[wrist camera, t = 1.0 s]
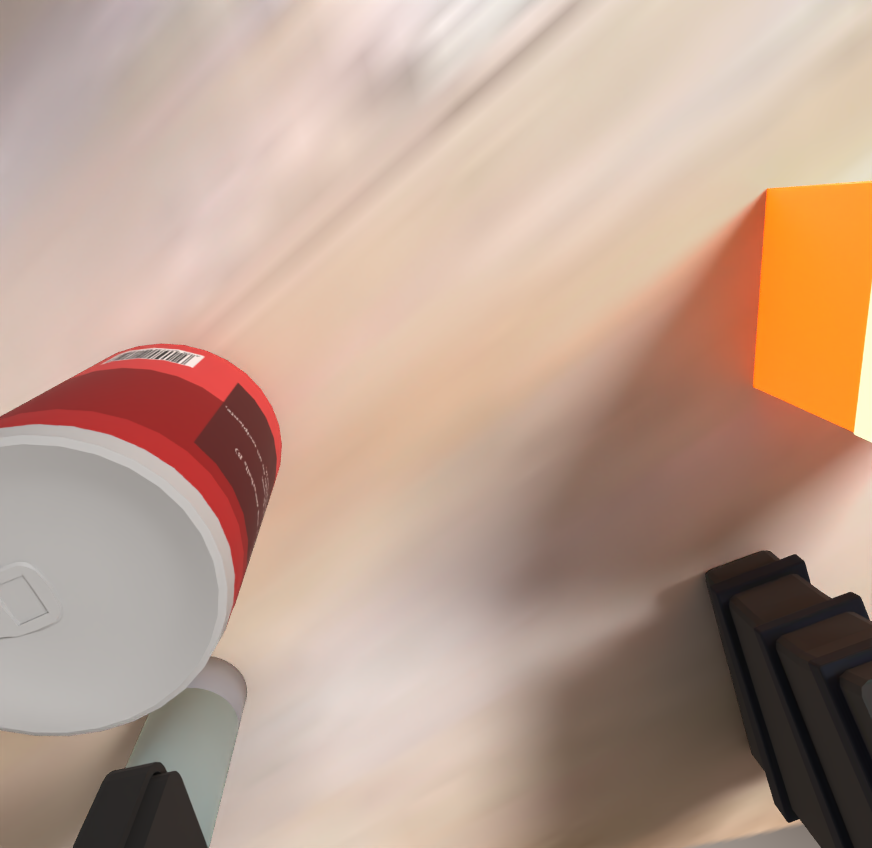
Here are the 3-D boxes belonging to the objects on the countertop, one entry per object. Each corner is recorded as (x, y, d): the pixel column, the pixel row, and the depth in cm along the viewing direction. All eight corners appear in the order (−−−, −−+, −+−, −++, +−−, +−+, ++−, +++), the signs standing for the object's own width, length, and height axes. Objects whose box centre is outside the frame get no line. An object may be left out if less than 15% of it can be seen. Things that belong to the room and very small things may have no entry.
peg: (151, 665, 28) (41, 896, 19) (235, 648, 28) (168, 868, 19) (175, 733, 29) (83, 983, 20) (256, 716, 29) (203, 956, 20)
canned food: (19, 428, 25) (-232, 586, 14) (184, 292, 24) (44, 353, 14) (170, 571, 27) (47, 797, 17) (326, 451, 26) (300, 610, 16)
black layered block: (775, 833, 32) (1030, 1116, 17) (665, 566, 34) (812, 614, 19) (850, 806, 32) (1171, 1066, 17) (737, 540, 34) (940, 567, 19)
